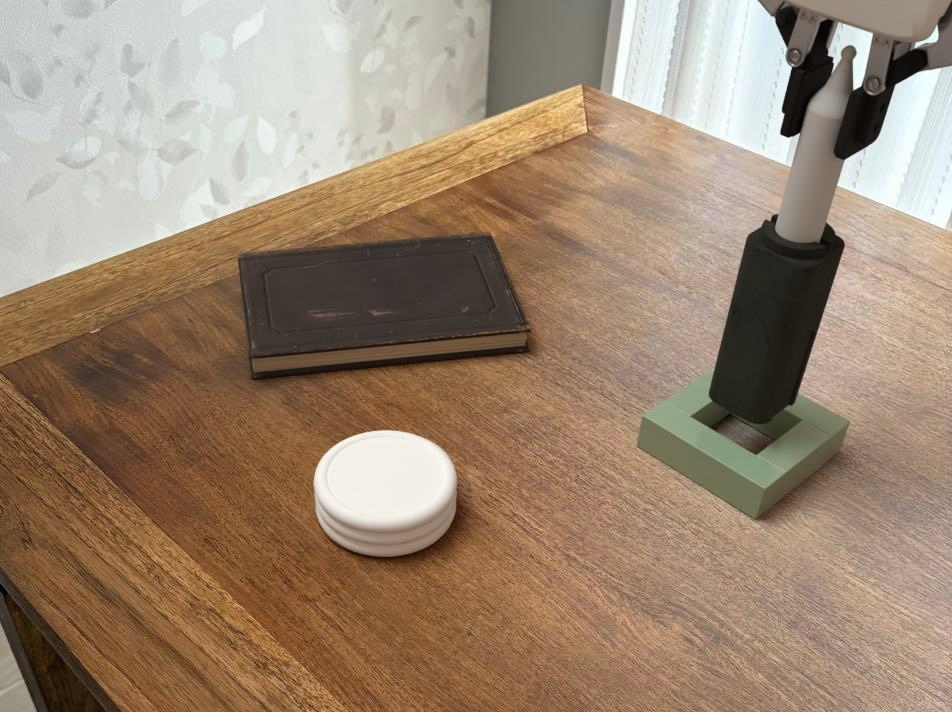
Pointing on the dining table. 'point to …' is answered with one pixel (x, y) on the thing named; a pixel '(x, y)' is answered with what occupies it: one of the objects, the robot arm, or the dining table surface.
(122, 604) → the dining table surface
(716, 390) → the black and white post
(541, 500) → the dining table surface
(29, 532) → the dining table surface
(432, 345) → the hardcover book
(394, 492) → the white stacked coasters
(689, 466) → the pad
